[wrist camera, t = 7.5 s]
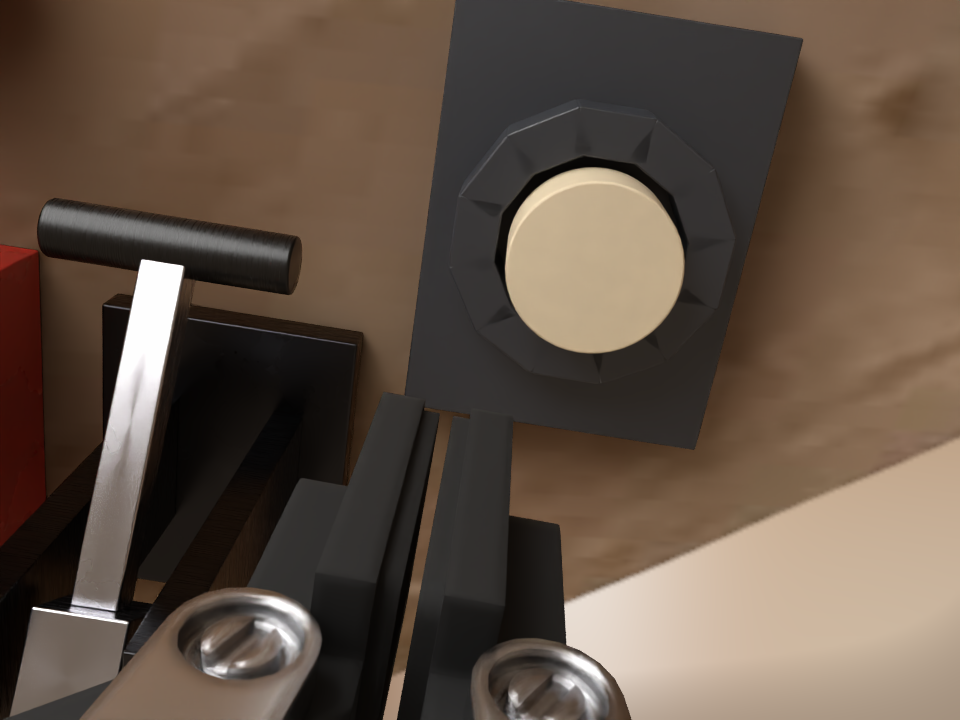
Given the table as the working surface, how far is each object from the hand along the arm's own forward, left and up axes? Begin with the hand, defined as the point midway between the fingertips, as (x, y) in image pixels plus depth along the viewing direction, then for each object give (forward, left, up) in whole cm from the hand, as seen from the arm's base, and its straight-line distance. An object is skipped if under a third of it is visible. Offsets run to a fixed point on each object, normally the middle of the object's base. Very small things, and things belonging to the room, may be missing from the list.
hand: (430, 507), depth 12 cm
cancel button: (-2, +2, -14) cm, 14 cm away
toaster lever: (+9, -3, -10) cm, 14 cm away
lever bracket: (+12, -2, -17) cm, 21 cm away
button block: (-2, +2, -17) cm, 18 cm away
